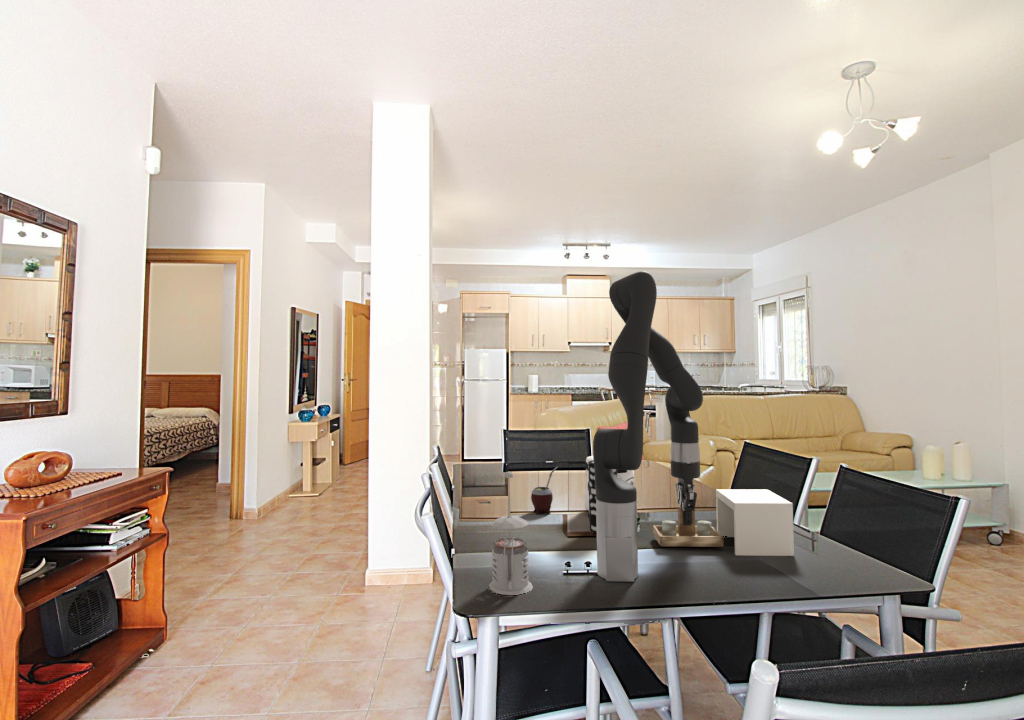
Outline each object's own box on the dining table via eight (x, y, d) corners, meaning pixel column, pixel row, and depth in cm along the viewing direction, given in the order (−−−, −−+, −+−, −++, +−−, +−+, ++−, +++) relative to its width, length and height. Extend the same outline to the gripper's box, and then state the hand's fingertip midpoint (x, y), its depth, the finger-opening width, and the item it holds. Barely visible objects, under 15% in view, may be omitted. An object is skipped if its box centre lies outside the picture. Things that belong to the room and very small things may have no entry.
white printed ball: (642, 520, 170) (641, 462, 170) (586, 520, 170) (585, 462, 171) (632, 506, 187) (631, 454, 187) (581, 506, 188) (580, 454, 188)
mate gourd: (527, 513, 180) (526, 467, 180) (540, 508, 186) (539, 464, 187) (546, 516, 176) (545, 469, 176) (559, 511, 182) (558, 466, 182)
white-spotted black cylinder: (617, 527, 163) (615, 459, 163) (619, 535, 154) (618, 464, 155) (588, 526, 164) (587, 459, 164) (590, 535, 155) (588, 464, 156)
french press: (533, 578, 123) (531, 467, 124) (533, 599, 112) (531, 477, 112) (489, 578, 124) (488, 467, 124) (485, 599, 112) (483, 477, 113)
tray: (660, 546, 141) (659, 513, 141) (653, 534, 151) (652, 503, 151) (723, 546, 140) (722, 513, 140) (712, 534, 150) (711, 503, 150)
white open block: (794, 555, 136) (792, 503, 136) (736, 555, 137) (734, 503, 137) (768, 536, 152) (767, 489, 152) (717, 536, 153) (715, 489, 153)
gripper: (665, 454, 153) (666, 516, 153) (676, 463, 139) (678, 531, 139) (692, 454, 153) (694, 517, 152) (706, 463, 139) (708, 531, 139)
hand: (686, 523), depth 146 cm, fingers closed on tray, 1 cm apart
